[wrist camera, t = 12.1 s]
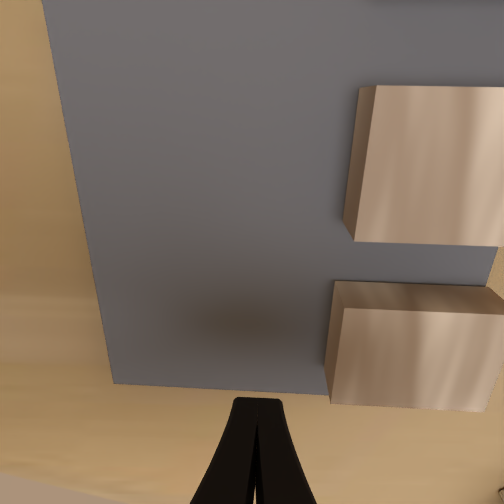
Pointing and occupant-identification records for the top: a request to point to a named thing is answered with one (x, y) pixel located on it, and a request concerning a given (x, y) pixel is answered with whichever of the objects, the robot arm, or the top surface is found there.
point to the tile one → (414, 345)
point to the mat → (244, 170)
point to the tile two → (427, 166)
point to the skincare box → (502, 494)
